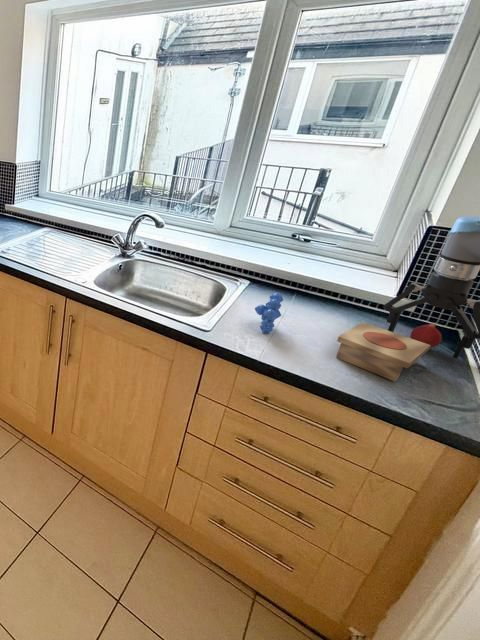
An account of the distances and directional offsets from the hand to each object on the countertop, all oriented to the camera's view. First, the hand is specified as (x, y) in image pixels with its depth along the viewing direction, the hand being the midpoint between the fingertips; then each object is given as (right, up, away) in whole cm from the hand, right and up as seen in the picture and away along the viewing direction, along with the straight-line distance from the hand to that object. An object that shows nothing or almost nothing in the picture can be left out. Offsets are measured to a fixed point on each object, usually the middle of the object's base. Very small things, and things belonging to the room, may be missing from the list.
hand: (421, 344), depth 118 cm
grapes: (-38, +3, +9) cm, 40 cm away
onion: (0, -1, 0) cm, 1 cm away
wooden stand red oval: (-18, -3, -6) cm, 19 cm away
